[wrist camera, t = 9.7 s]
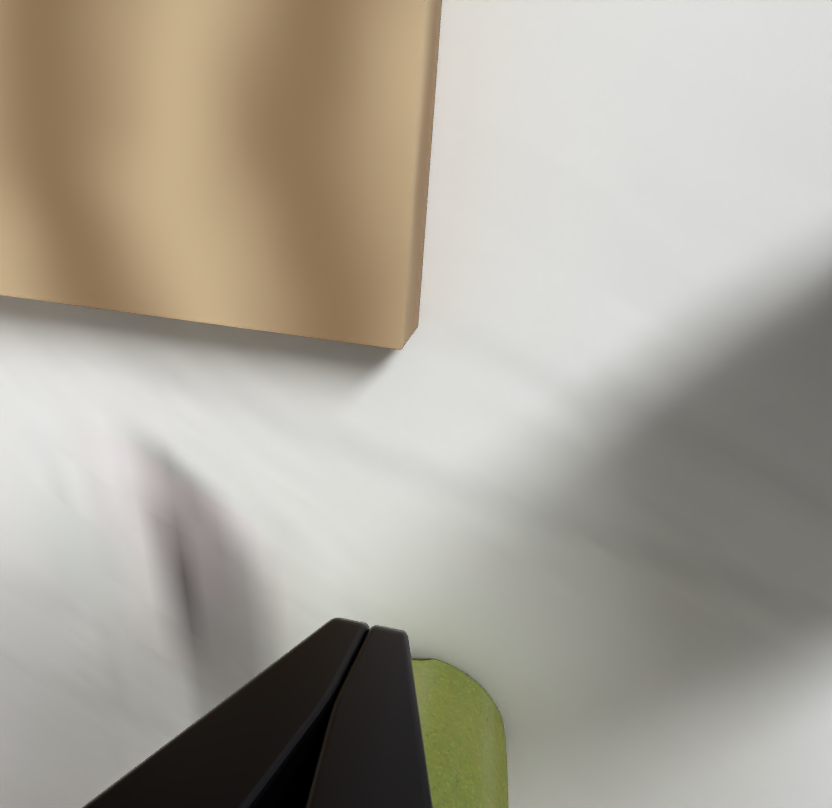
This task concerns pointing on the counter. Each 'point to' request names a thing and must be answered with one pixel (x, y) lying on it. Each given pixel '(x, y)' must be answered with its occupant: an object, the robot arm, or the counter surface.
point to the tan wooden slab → (220, 160)
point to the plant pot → (460, 738)
